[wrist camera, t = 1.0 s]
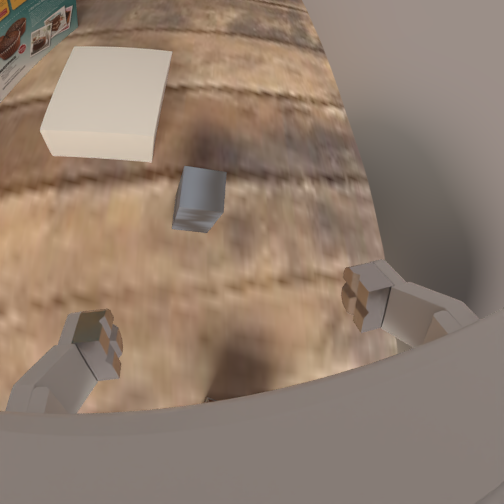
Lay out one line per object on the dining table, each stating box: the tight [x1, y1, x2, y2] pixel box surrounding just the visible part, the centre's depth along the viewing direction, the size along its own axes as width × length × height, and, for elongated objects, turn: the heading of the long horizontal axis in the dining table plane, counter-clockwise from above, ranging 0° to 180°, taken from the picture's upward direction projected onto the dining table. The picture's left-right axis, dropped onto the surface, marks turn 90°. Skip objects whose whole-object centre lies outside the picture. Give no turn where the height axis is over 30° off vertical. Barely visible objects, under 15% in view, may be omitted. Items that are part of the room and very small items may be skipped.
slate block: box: [172, 166, 227, 233], centre depth 40 cm, size 5×5×10 cm
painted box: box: [40, 46, 172, 162], centre depth 40 cm, size 16×16×8 cm
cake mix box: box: [0, 0, 78, 103], centre depth 26 cm, size 22×6×30 cm, turn 154°
